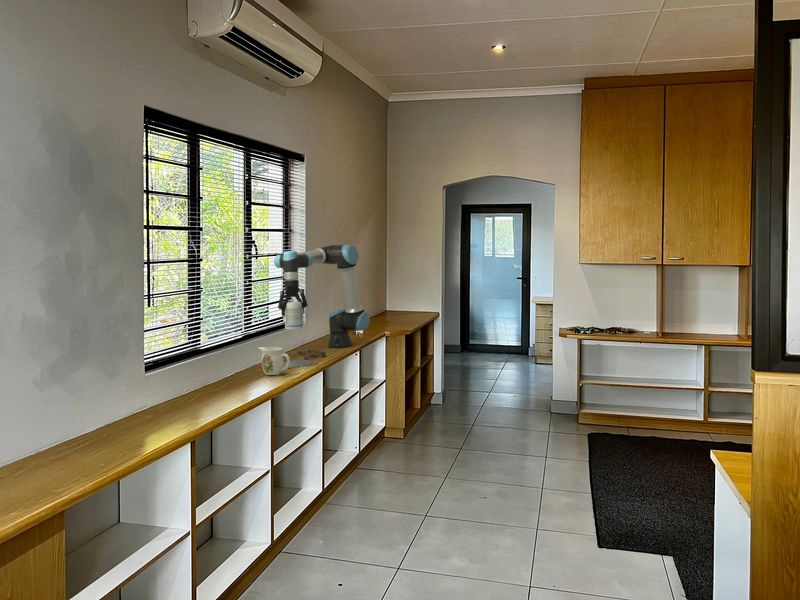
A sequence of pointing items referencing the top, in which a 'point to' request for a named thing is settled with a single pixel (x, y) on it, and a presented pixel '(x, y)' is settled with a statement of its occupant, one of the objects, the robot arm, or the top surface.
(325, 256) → the robot arm
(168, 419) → the top surface
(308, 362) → the pad
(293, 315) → the supplement tub
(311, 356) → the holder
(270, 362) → the pitcher
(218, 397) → the top surface
